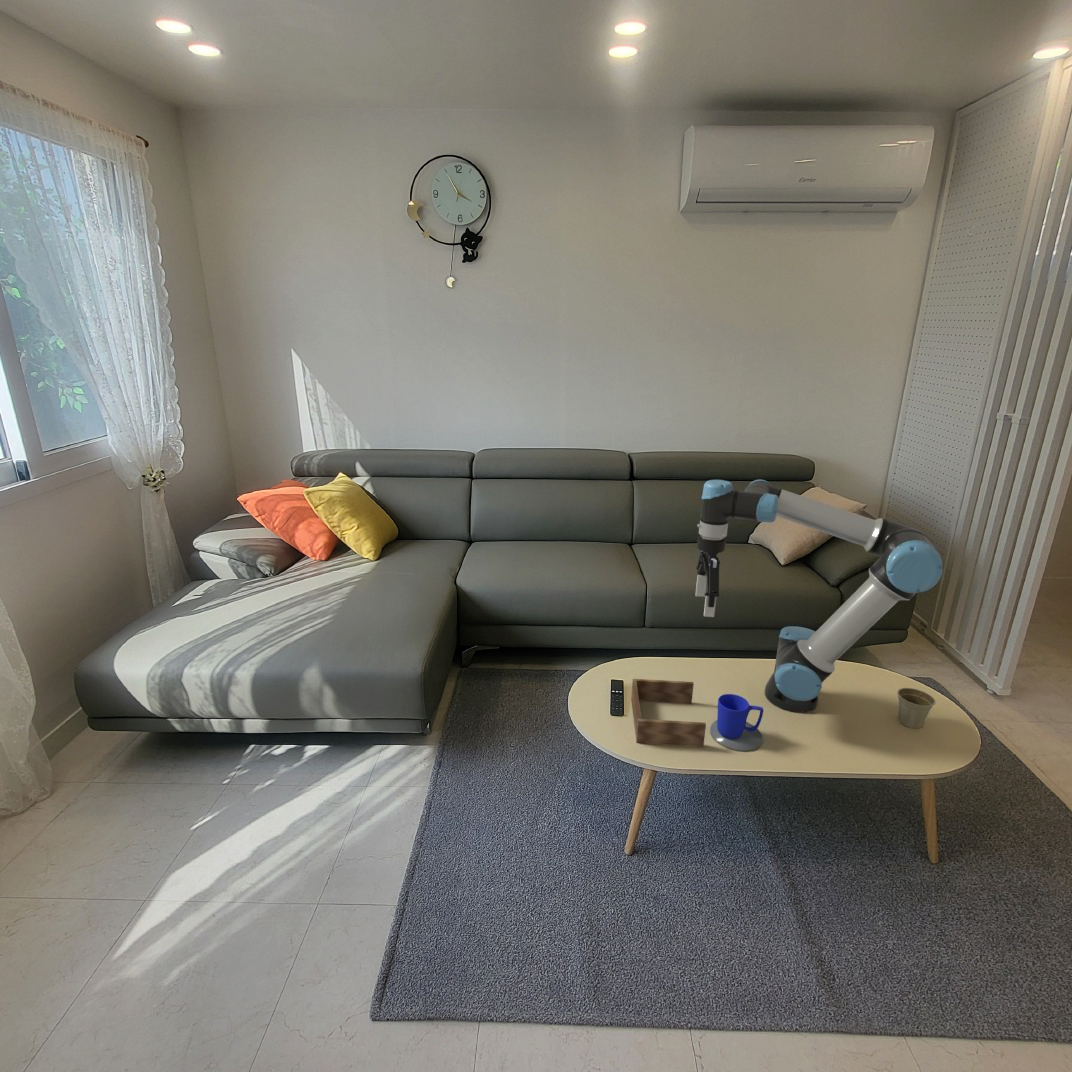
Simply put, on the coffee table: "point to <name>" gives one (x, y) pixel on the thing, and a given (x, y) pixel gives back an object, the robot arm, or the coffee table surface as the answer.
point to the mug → (734, 715)
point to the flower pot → (914, 706)
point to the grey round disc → (738, 739)
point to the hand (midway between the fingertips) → (704, 605)
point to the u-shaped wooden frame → (665, 729)
